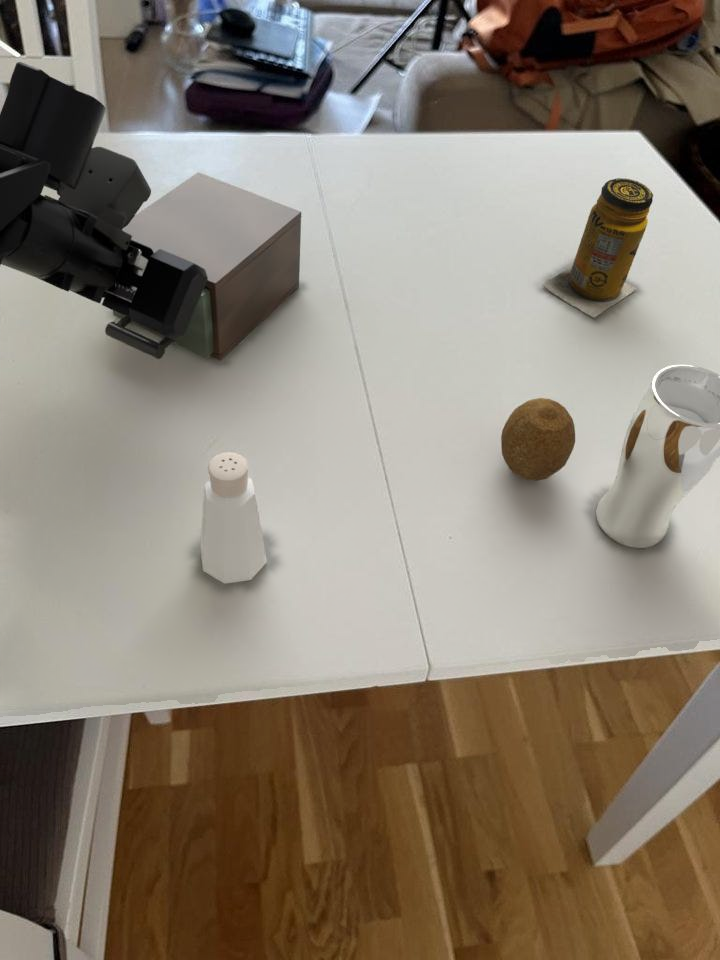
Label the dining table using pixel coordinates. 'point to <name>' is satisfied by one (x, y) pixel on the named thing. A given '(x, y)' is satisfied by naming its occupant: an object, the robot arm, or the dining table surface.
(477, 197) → the dining table surface
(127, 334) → the drawer
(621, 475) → the beer glass
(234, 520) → the salt shaker
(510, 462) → the fruit
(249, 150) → the dining table surface
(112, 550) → the dining table surface
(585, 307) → the condiment
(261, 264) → the cabinet
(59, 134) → the robot arm
